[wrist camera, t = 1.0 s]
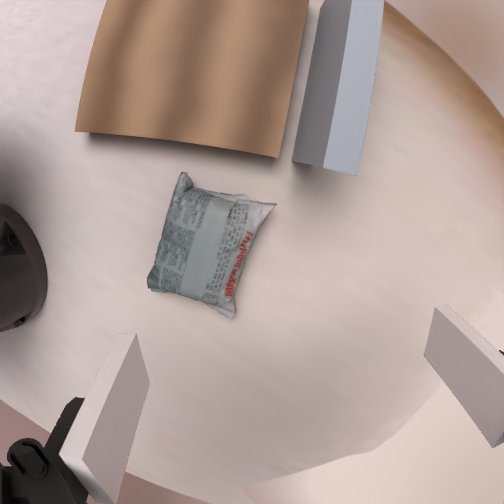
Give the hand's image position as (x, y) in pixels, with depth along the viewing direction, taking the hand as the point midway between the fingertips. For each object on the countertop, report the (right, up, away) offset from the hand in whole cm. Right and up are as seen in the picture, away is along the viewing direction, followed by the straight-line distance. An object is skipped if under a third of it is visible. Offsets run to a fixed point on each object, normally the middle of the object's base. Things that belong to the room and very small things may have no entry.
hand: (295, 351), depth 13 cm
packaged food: (-6, +5, +18) cm, 19 cm away
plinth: (-7, +22, +12) cm, 26 cm away
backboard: (+4, +20, +13) cm, 24 cm away
